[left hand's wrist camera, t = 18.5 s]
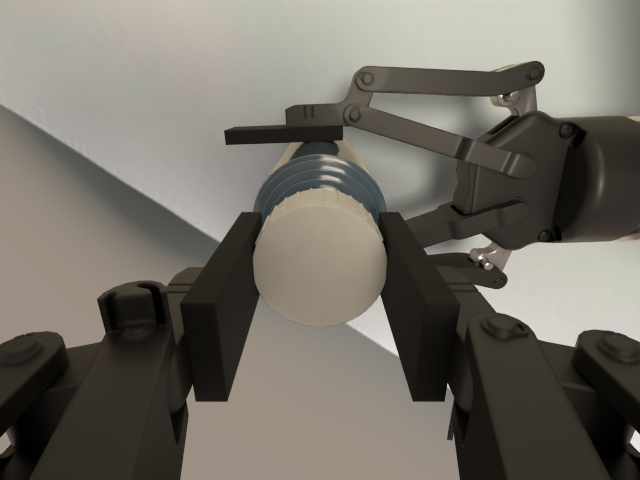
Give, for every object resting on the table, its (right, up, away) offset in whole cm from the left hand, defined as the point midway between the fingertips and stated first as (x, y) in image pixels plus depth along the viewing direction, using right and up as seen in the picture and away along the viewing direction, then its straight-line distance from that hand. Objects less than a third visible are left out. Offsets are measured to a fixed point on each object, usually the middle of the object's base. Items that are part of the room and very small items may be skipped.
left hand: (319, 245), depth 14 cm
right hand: (-5, +3, +8) cm, 10 cm away
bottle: (0, +6, +15) cm, 16 cm away
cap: (0, -1, -2) cm, 2 cm away
